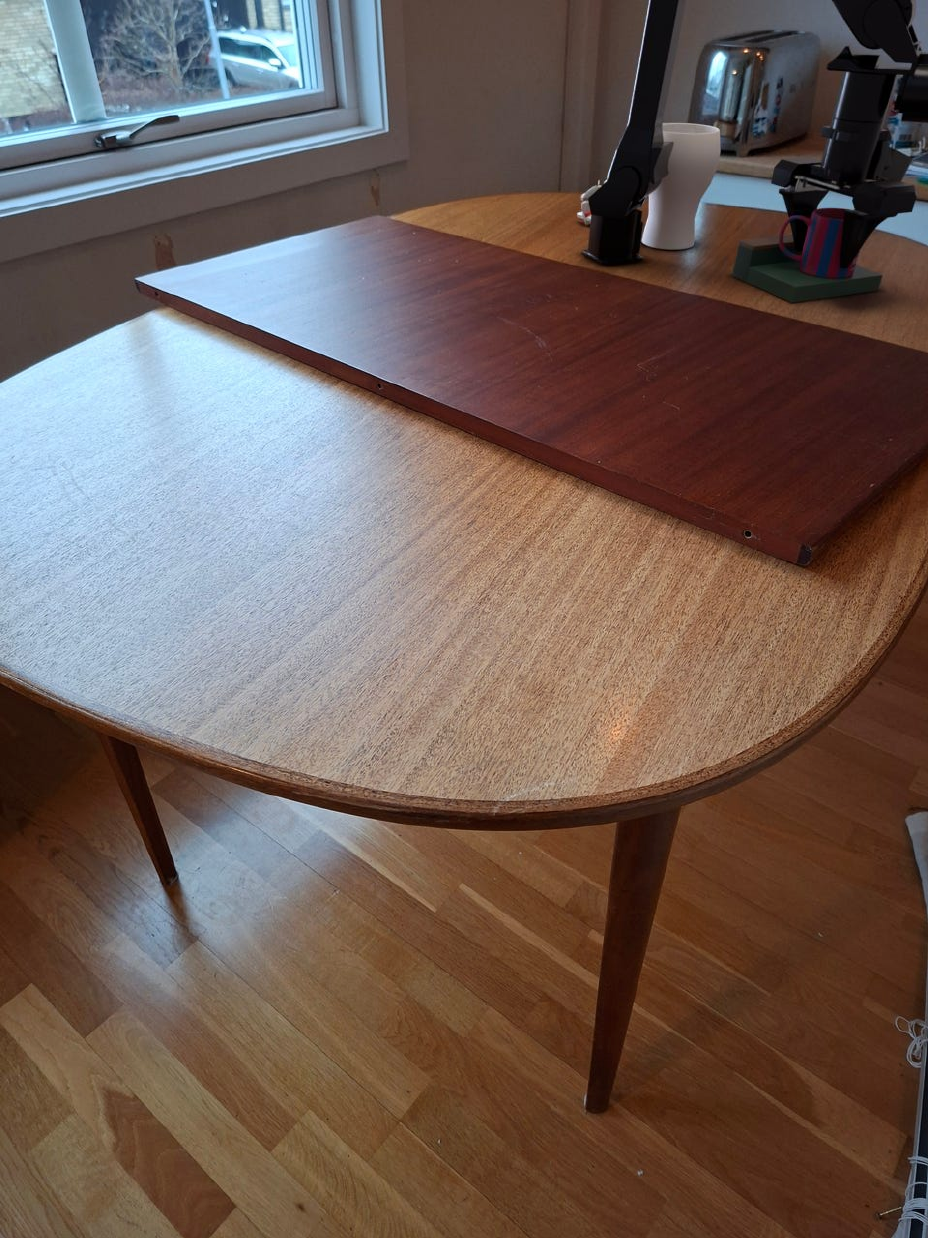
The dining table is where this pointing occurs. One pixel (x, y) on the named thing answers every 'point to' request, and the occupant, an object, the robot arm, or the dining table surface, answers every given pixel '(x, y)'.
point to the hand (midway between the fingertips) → (821, 259)
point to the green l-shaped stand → (794, 273)
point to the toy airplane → (587, 204)
